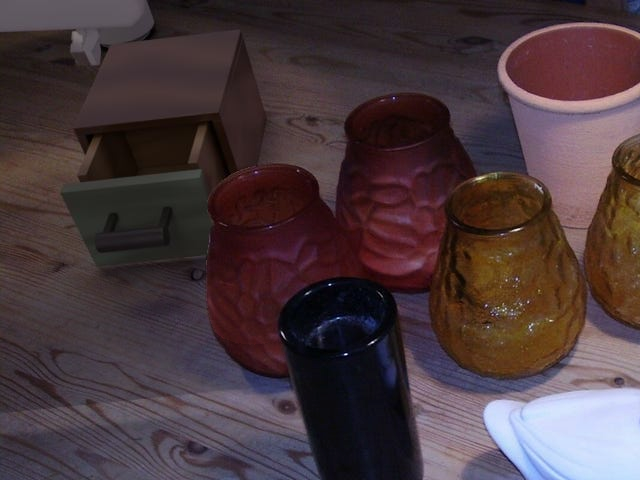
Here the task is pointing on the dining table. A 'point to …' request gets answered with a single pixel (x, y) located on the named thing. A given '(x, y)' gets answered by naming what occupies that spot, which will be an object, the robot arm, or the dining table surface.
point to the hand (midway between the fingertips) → (21, 61)
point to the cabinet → (179, 92)
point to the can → (127, 31)
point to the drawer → (147, 193)
